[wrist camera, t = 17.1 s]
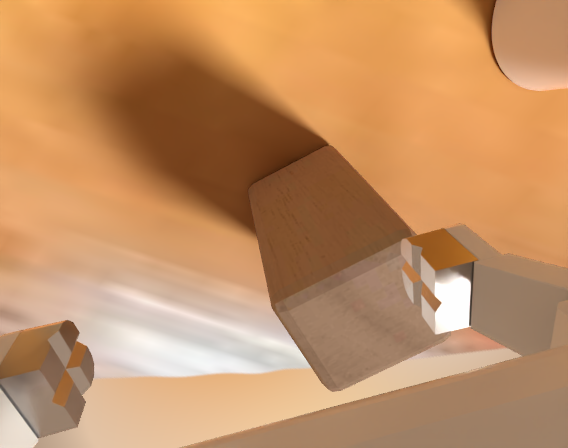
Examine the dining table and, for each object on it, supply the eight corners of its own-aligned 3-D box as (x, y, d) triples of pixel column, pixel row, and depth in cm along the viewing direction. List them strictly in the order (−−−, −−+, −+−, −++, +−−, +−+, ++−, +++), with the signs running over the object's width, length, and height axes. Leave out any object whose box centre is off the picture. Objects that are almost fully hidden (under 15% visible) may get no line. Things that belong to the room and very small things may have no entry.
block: (285, 256, 47) (330, 402, 29) (243, 185, 42) (266, 307, 24) (364, 216, 46) (460, 340, 28) (330, 138, 41) (419, 230, 24)
